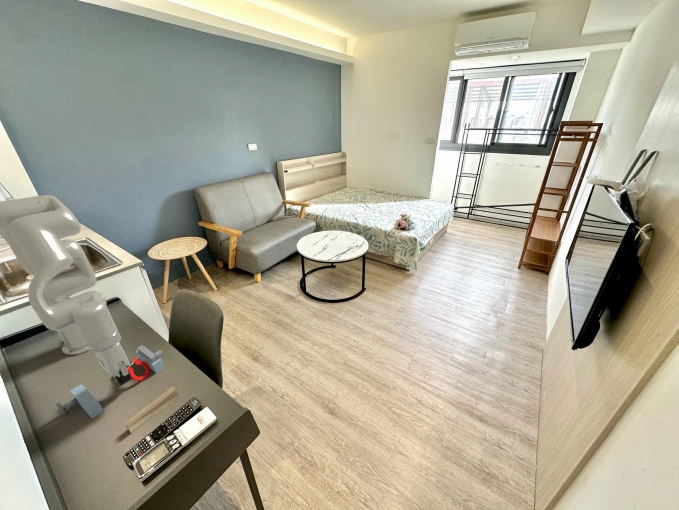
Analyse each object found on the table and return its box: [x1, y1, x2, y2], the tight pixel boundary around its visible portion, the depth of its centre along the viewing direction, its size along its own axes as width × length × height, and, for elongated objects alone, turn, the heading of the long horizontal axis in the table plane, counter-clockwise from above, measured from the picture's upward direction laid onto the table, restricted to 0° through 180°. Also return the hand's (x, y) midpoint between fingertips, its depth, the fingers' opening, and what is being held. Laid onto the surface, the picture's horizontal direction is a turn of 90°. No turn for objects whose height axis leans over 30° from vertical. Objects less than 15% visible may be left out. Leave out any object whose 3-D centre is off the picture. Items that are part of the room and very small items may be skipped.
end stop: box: [124, 386, 179, 434], centre depth 84 cm, size 2×14×3 cm, turn 149°
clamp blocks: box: [55, 344, 166, 419], centre depth 91 cm, size 12×28×6 cm, turn 149°
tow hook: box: [126, 357, 151, 382], centre depth 96 cm, size 7×10×7 cm
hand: (125, 381), depth 90 cm, fingers closed
